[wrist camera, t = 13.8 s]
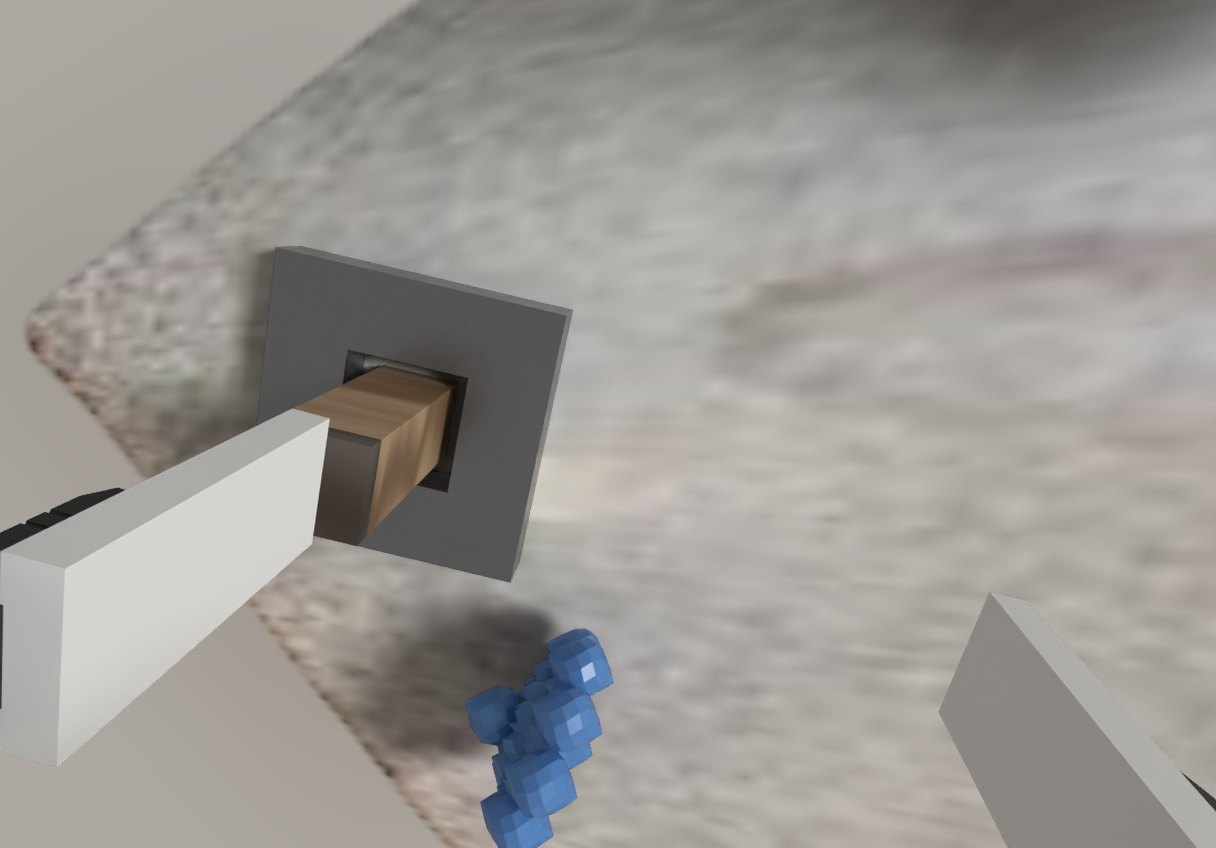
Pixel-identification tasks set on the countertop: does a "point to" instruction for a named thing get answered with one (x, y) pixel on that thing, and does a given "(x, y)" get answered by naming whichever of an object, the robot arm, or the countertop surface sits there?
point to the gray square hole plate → (440, 340)
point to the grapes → (540, 738)
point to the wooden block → (378, 446)
